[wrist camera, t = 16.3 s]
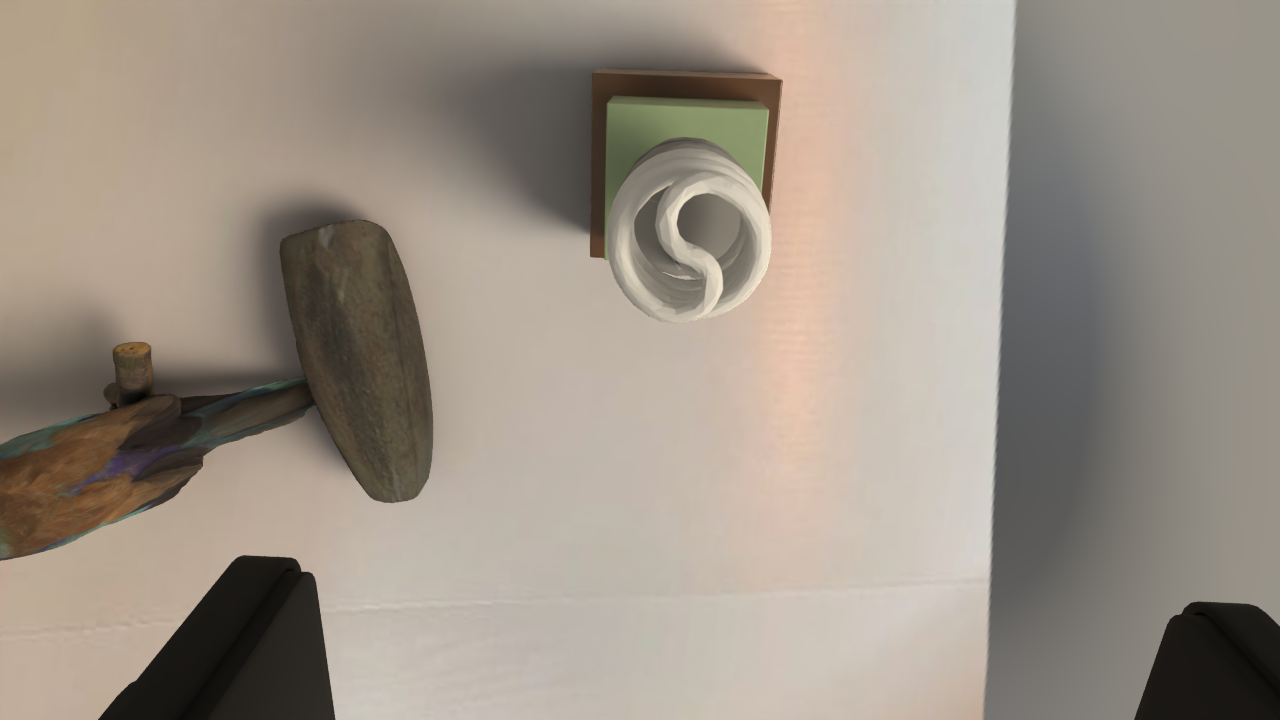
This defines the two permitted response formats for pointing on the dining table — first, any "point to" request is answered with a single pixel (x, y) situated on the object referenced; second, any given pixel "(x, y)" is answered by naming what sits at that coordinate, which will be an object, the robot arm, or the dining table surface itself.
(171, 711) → the robot arm
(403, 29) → the dining table surface
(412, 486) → the decorative stone
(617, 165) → the top block
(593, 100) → the base block
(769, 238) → the light bulb
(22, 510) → the bird figurine
